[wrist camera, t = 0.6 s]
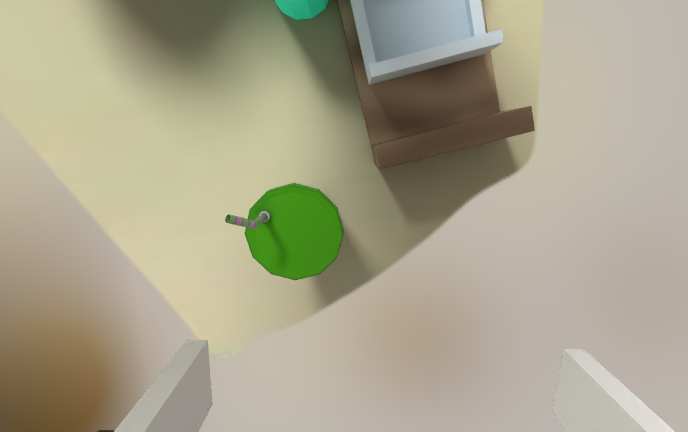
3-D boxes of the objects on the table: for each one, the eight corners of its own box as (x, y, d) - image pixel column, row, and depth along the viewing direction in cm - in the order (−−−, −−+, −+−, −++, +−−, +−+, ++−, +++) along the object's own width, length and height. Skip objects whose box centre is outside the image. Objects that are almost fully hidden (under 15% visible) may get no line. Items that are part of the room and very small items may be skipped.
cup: (357, 224, 38) (362, 276, 24) (294, 255, 39) (261, 324, 24) (324, 159, 37) (306, 171, 22) (259, 193, 38) (201, 226, 23)
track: (328, -41, 33) (322, -88, 26) (466, -82, 32) (497, -142, 25) (375, 163, 37) (380, 169, 30) (499, 132, 36) (534, 130, 29)
